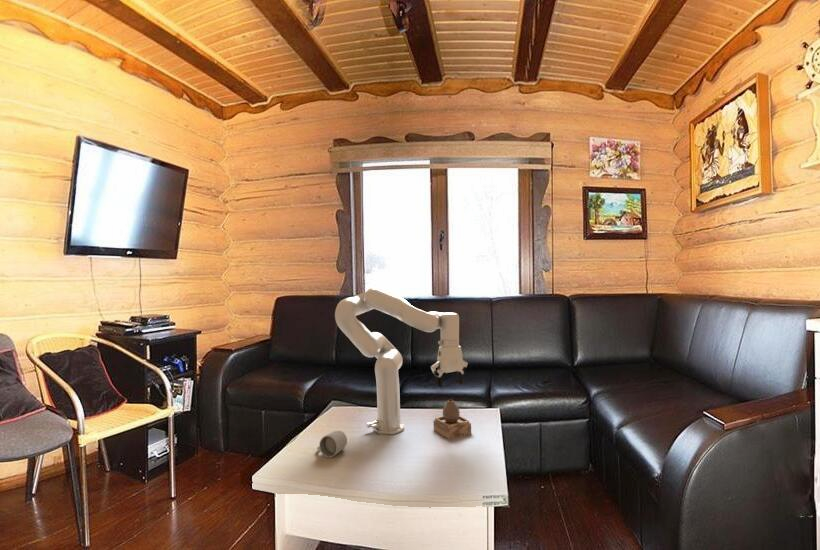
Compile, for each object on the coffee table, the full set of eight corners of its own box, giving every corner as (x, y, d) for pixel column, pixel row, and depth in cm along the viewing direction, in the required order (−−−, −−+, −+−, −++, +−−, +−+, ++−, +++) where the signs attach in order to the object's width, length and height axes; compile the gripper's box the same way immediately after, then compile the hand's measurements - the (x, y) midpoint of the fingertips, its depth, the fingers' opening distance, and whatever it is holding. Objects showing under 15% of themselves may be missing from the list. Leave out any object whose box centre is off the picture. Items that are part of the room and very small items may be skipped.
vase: (448, 426, 161) (448, 404, 161) (439, 420, 167) (439, 399, 167) (463, 422, 165) (462, 401, 164) (453, 417, 171) (453, 396, 171)
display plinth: (448, 439, 159) (447, 426, 159) (433, 429, 168) (433, 417, 168) (471, 433, 164) (470, 421, 164) (455, 424, 173) (455, 412, 173)
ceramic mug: (349, 449, 152) (348, 429, 152) (337, 459, 144) (336, 437, 144) (324, 445, 156) (324, 425, 156) (312, 454, 148) (311, 433, 148)
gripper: (436, 346, 158) (436, 390, 159) (472, 342, 166) (472, 384, 167) (426, 343, 165) (426, 385, 165) (462, 340, 173) (461, 380, 173)
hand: (449, 384), depth 166 cm, fingers open, 9 cm apart
